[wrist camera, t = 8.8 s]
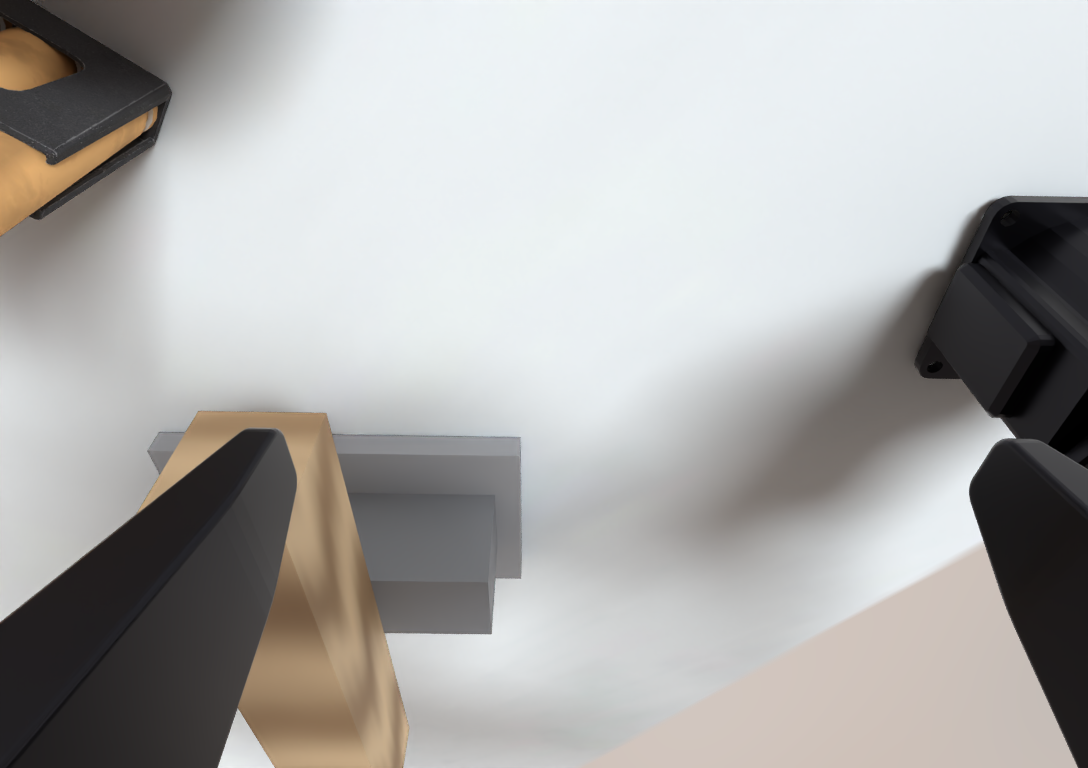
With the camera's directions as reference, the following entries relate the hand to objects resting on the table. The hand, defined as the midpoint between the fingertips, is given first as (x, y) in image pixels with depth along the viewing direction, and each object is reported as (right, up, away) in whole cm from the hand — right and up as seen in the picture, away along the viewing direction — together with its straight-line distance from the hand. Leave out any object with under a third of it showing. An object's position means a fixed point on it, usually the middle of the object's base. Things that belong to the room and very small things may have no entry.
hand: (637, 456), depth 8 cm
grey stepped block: (-9, -4, +20) cm, 22 cm away
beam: (-9, -7, +16) cm, 20 cm away
